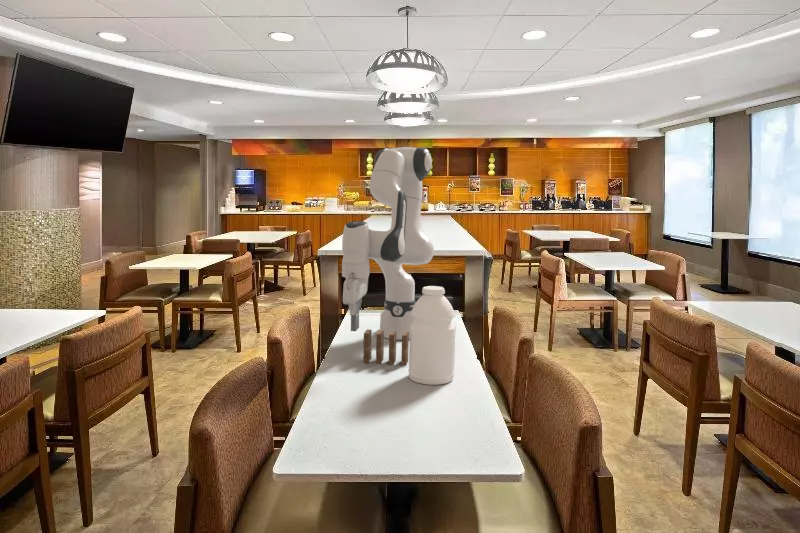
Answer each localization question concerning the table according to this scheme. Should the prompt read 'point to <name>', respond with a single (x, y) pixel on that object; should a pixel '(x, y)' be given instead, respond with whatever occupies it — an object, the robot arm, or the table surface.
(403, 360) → the domino
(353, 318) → the end domino
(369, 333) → the domino
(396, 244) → the robot arm
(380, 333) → the domino
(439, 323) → the bottle
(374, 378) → the table surface
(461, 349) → the table surface
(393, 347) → the domino
